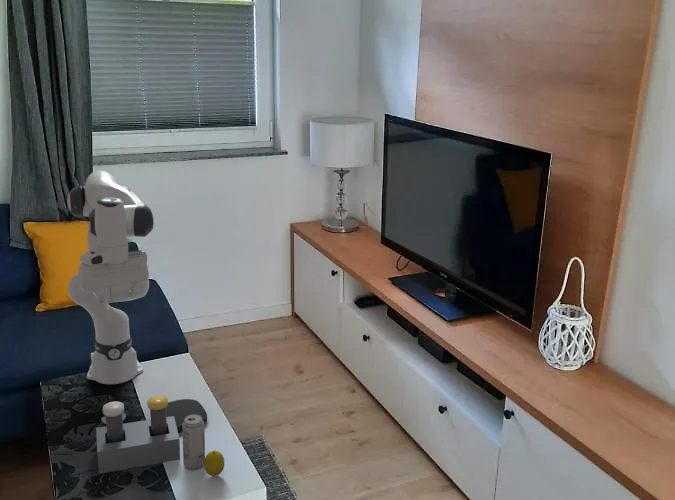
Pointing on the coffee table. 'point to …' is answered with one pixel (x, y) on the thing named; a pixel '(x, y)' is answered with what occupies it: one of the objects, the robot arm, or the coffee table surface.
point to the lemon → (214, 463)
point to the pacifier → (105, 418)
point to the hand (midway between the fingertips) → (115, 299)
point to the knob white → (114, 421)
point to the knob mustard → (158, 414)
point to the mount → (137, 446)
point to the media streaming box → (185, 411)
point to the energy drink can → (193, 442)
